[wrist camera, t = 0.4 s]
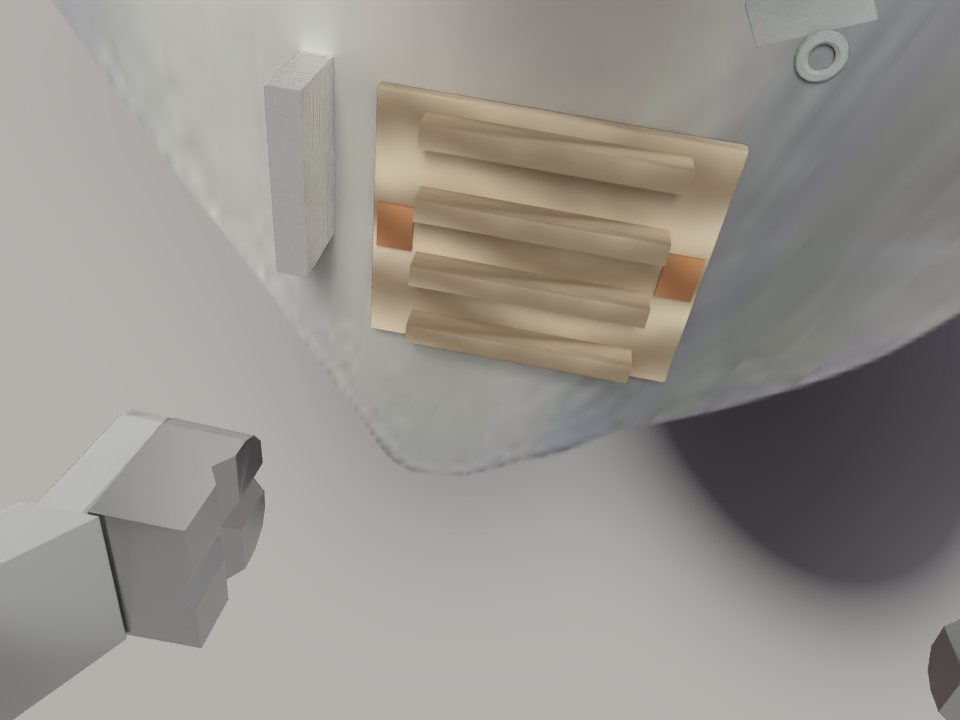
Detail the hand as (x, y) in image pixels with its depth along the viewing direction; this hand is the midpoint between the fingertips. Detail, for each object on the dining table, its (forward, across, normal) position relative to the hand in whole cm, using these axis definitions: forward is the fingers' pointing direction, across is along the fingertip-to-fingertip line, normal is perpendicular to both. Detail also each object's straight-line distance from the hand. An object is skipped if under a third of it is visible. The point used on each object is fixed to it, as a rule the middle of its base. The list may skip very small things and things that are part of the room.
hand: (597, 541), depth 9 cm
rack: (+40, +2, +14) cm, 43 cm away
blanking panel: (+40, +17, +10) cm, 45 cm away
